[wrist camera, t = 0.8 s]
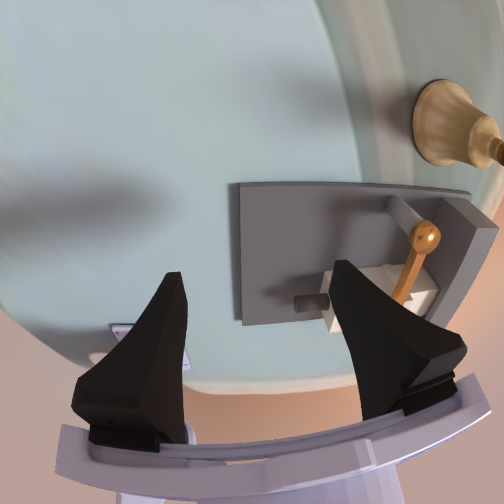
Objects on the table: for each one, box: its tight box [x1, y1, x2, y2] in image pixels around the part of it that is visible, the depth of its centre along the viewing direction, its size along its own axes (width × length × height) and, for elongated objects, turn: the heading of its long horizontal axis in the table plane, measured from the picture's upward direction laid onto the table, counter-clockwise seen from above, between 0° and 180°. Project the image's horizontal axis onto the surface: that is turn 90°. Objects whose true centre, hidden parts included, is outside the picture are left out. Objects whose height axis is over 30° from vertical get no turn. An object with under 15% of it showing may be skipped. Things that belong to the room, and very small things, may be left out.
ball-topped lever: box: [391, 220, 441, 306], centre depth 22 cm, size 15×2×1 cm, turn 0°
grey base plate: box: [239, 182, 499, 329], centre depth 24 cm, size 16×24×6 cm, turn 90°
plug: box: [294, 264, 442, 333], centre depth 25 cm, size 4×17×5 cm, turn 90°
